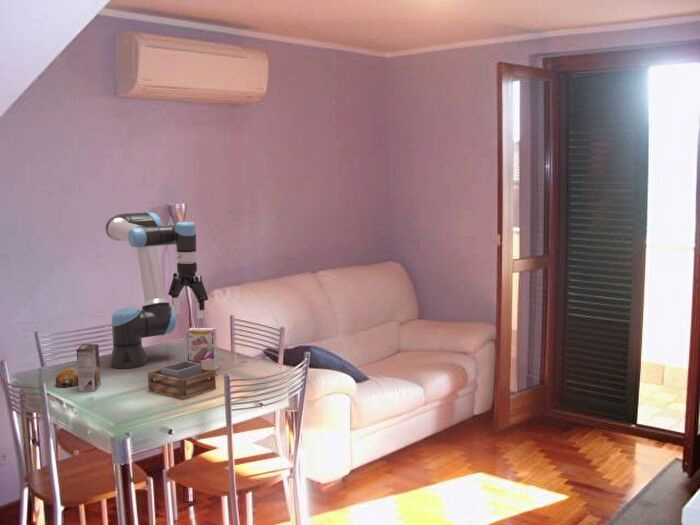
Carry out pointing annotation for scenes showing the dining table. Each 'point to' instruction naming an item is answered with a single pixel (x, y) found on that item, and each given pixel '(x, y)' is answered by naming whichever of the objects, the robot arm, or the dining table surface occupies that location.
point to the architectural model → (209, 364)
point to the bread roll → (67, 378)
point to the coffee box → (88, 367)
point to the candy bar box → (201, 344)
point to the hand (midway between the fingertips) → (188, 316)
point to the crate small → (182, 372)
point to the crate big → (181, 384)
